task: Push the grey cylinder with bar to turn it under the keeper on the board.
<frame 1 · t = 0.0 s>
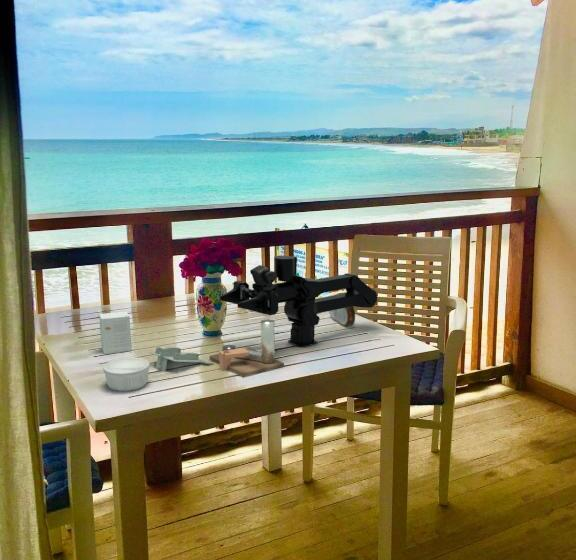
hand: (228, 301, 173), 17 cm above the table, tool horizontal, fingers open, 9 cm apart
keeper: (229, 358, 178), on the table
small box: (116, 350, 185), on the table
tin: (340, 323, 212), on the table
board: (246, 362, 175), on the table
ramekin: (127, 385, 160), on the table
metal bracket: (178, 365, 174), on the table
grey cylinder with bar: (247, 338, 174), point 7 cm above the table, hinge at 0.0°
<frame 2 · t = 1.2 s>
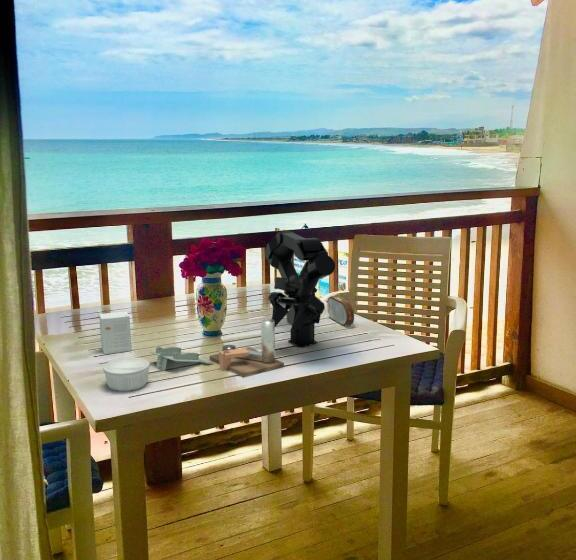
hand: (282, 328, 175), 9 cm above the table, tool tilted 40°, fingers open, 9 cm apart
grey cylinder with bar: (248, 338, 174), point 7 cm above the table, hinge at 1.2°
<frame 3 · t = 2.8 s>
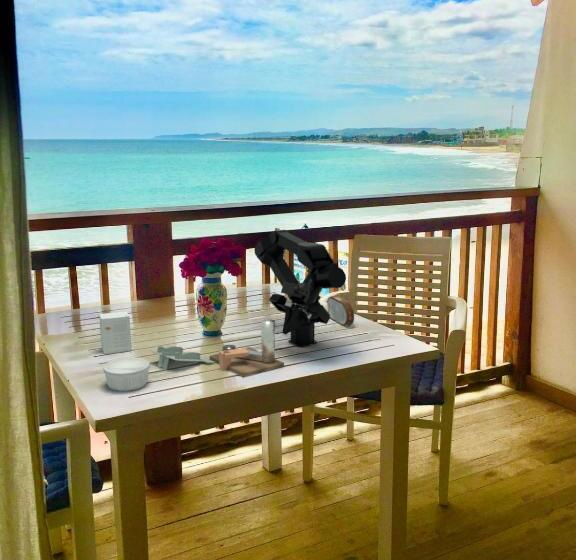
hand: (283, 333, 175), 8 cm above the table, tool tilted 45°, fingers closed
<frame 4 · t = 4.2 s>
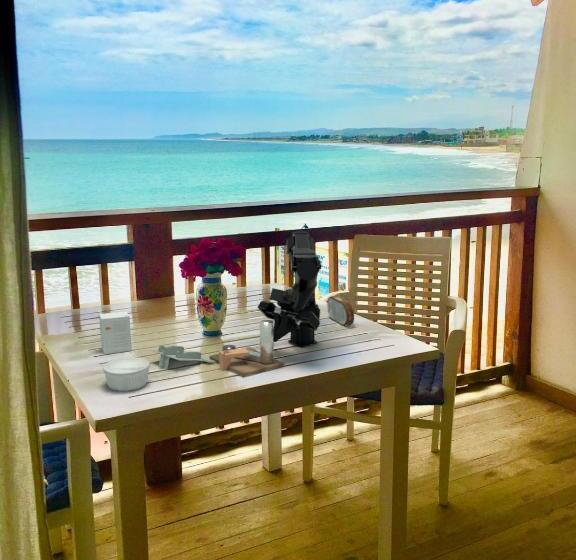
hand: (273, 341, 172), 7 cm above the table, tool tilted 45°, fingers closed, pressing on grey cylinder with bar
grey cylinder with bar: (247, 338, 174), point 7 cm above the table, hinge at -2.8°, touching gripper
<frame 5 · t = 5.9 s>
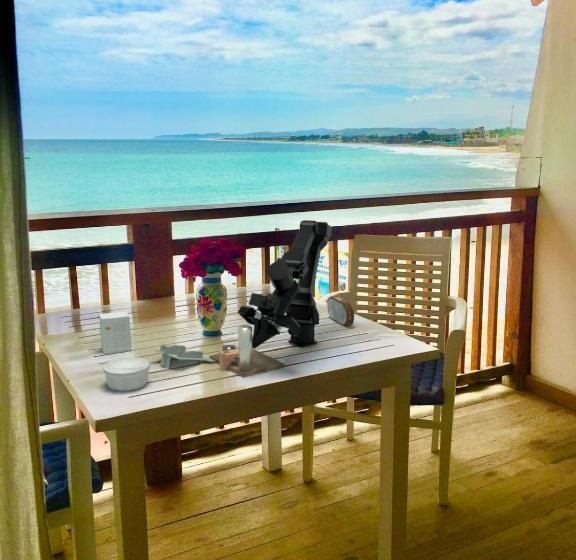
hand: (252, 347, 167), 7 cm above the table, tool tilted 45°, fingers closed
grey cylinder with bar: (236, 341, 171), point 7 cm above the table, hinge at -38.7°, touching gripper
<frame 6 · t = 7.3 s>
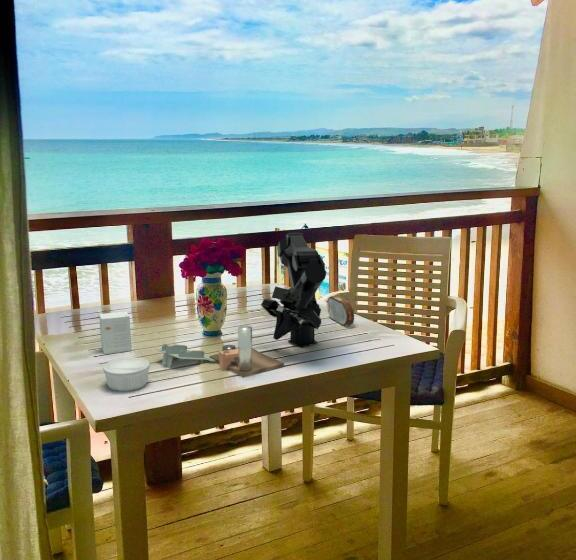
hand: (275, 338, 174), 7 cm above the table, tool tilted 45°, fingers closed
grey cylinder with bar: (236, 341, 171), point 7 cm above the table, hinge at -38.9°
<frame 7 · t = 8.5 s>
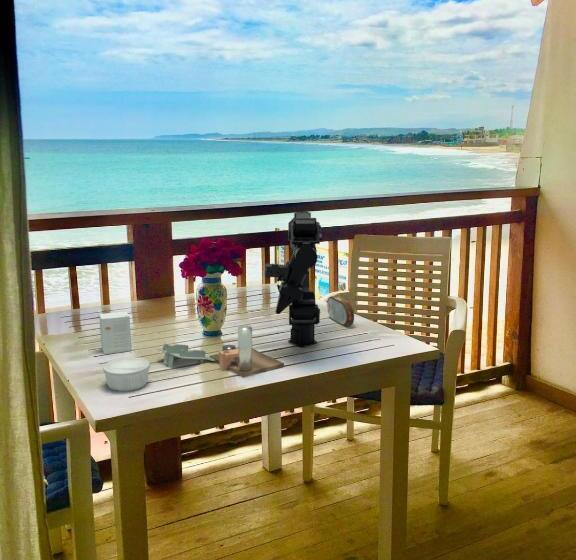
hand: (277, 313, 179), 12 cm above the table, tool tilted 25°, fingers closed
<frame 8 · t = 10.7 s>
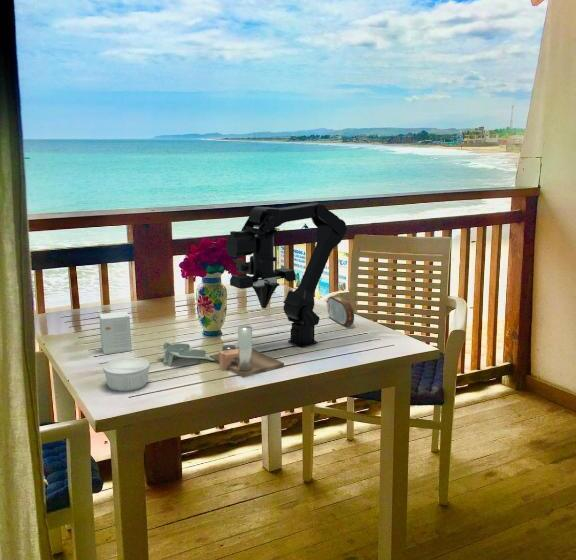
hand: (263, 308, 181), 13 cm above the table, tool pointing down, fingers closed
at the end: grey cylinder with bar at -39° (first picture: +0°) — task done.
